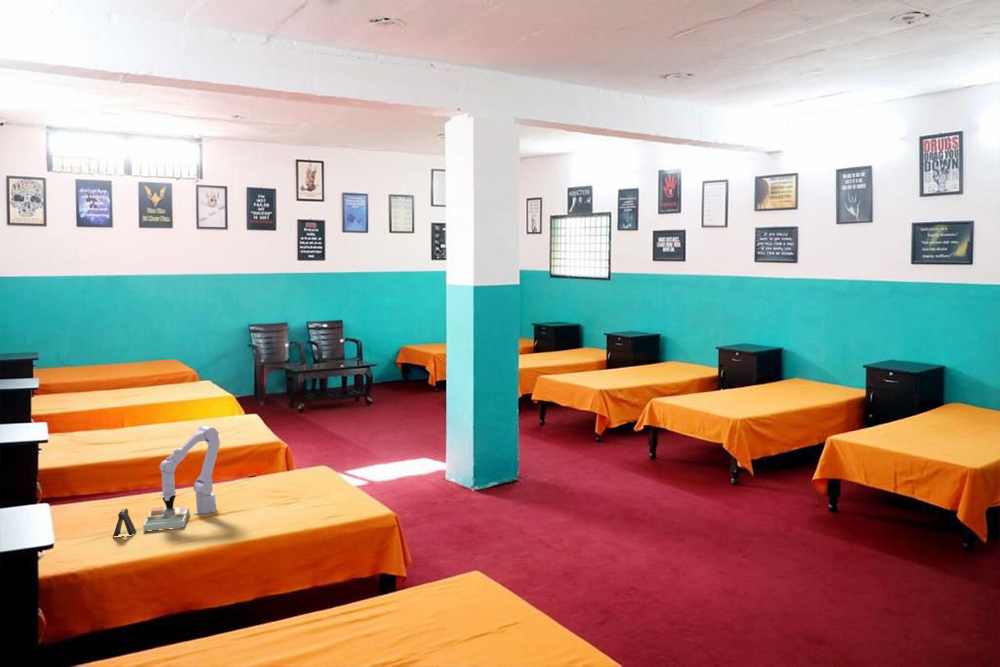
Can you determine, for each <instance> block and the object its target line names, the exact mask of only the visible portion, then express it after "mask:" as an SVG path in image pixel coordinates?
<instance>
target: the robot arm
mask: <svg viewBox="0 0 1000 667" xmlns="http://www.w3.org/2000/svg"><path fill="white" fill-rule="evenodd" d="M199 442H206V444H207V449H206V453H205V457H204V461H203V464H202V467H201V472H200V475H199V476H198V477H197V478H196V481H195V482H194V484H193V491H194V492H195V502H196V510H195V513H194V515H202V513H203V514H211V513H210V512H214V513H216V510H215V509H217V504H216V503H217V502H216V501H217V500H216V493H212V492H213V489H214V487H213V482H214V481H213V478H212V476H213V472H214V468H215V464H216V460H217V455H218V453H219V448H220V445H221V442H220V438H219V431H217V429H216V428H215V427H210V426H208V425H202V426H200V427H199V428H198V429H196V430H195V432H194V434H193V435H192V436H190V438H189V439H188V440H187V441H186V442H185V443H184V445H182V447H181V448H175V449H174V450H173V451H172V453H171V454H170V455H169V456H168V457H166V459H165V460H162V461H161V462H160V465H158V467H159V470H160V471H161V485H162V488H161V489H162V492H160V496H162V501H163V503H164V504H165V507H166V508H165V509H173V508H174V504H175V503H174V502H175V499H176V497H177V496H176V487H175V486H176V485H175V480H176V479H175V471H176V468H177V466H178V465H179V464H180V463H181V462H182V461H183V460H184V459H185V458H186V457H187V453H189V451H190V450H191V449H192V448H193V447H194V446H195V445H196V444H198V443H199Z"/></svg>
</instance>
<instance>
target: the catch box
mask: <svg viewBox="0 0 1000 667" xmlns="http://www.w3.org/2000/svg"><path fill="white" fill-rule="evenodd" d="M185 523H187V521H186V515H184V517H178V518H167V519H157V520H148V519H147V518H146V519H145V521H144V523H143V524H142V526H143V527H142V528H143V530H142V531H143V532H144V531H148V530H159V529H169V528H179V529H183V528H182V527H184V528H185V526H186V524H185ZM169 530H170V529H169ZM159 531H160V530H159Z"/></svg>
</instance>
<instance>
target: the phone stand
mask: <svg viewBox="0 0 1000 667" xmlns="http://www.w3.org/2000/svg"><path fill="white" fill-rule="evenodd" d="M117 516H118V518H117V519H118V520H117V523H116V526H115V530H114V533H113V535H112V538H113V537H114V536H118V535H119V534H126V533H128V534H129V535H132V534H134V533H135V532H136V533H137V530H136V528H135V526H134V523H133V521H132V519H131V517H130V515H129V509H127V508H123V509H121V510H120V512H119V513H118V515H117ZM123 522H124V525H125V528H126V530H127V531H126V532H125V531H124V532H123V531H122V526H123ZM121 531H122V532H121ZM136 533H135V534H136ZM135 534H134V535H135Z"/></svg>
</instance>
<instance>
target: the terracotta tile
mask: <svg viewBox="0 0 1000 667" xmlns="http://www.w3.org/2000/svg"><path fill="white" fill-rule="evenodd" d="M163 509H164V506H163V507H154V508H153V507H152V508H151V509H150V511H151V515H158V514H162V513H163Z"/></svg>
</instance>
